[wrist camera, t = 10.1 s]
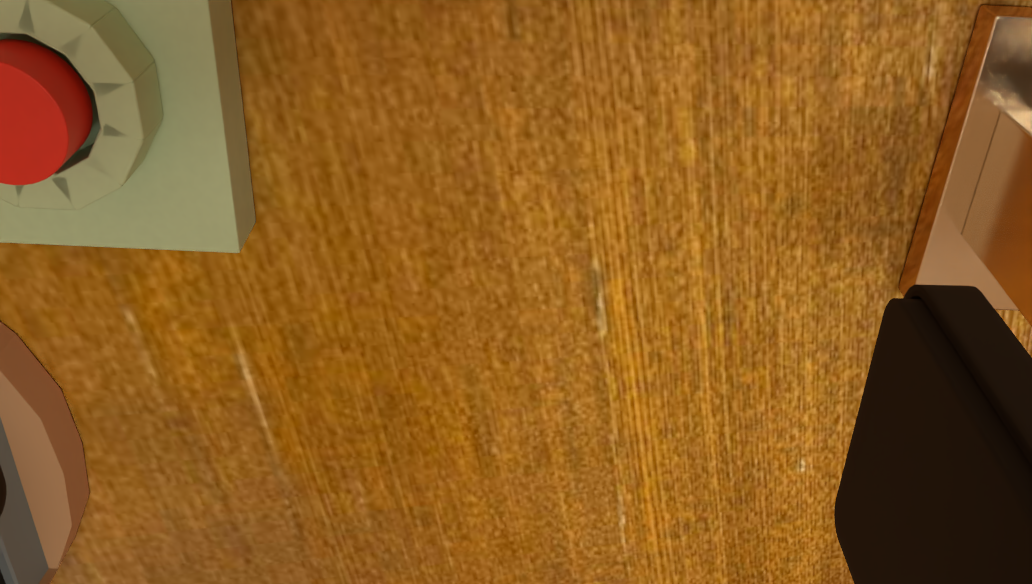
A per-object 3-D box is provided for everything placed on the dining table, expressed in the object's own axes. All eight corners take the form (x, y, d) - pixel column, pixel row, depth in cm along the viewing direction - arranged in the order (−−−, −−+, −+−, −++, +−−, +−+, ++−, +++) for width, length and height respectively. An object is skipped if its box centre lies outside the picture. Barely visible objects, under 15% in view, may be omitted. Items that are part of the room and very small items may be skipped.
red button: (-53, 35, 27) (-88, 56, 25) (79, 41, 27) (53, 62, 25) (-20, 156, 28) (-51, 182, 27) (104, 162, 29) (80, 188, 27)
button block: (-135, -137, 28) (-229, -113, 24) (217, -121, 28) (173, -94, 24) (-35, 209, 34) (-100, 268, 30) (256, 222, 34) (224, 282, 30)
